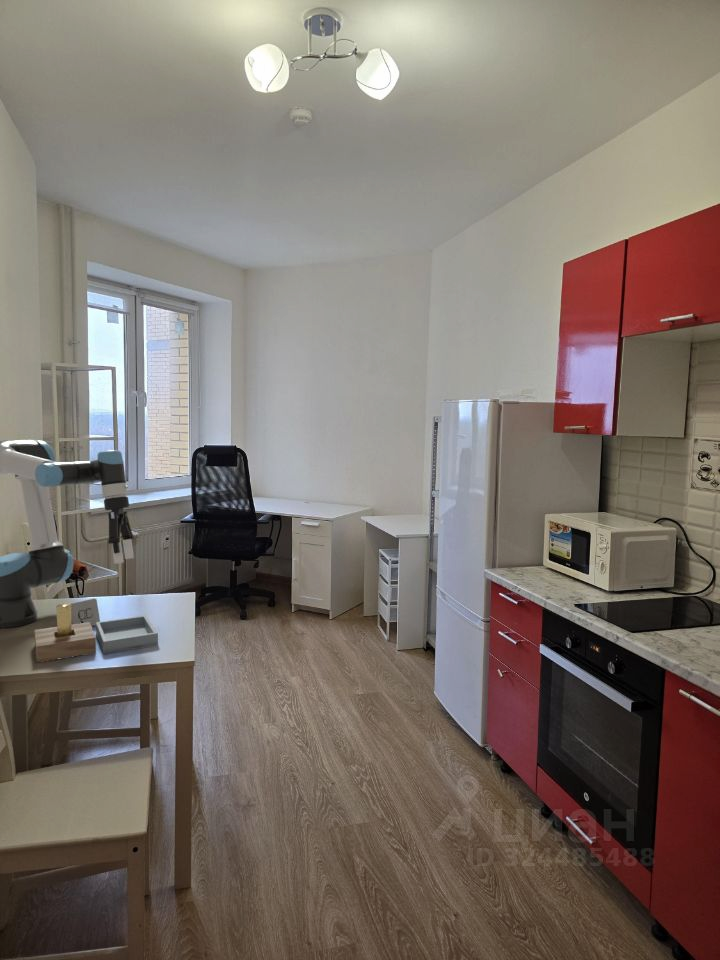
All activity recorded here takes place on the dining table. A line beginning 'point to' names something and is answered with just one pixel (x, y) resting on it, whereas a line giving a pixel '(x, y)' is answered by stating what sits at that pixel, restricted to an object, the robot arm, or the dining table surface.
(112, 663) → the dining table surface
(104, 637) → the tray
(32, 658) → the dining table surface
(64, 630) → the pin
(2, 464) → the robot arm
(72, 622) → the electrical switch
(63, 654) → the block
